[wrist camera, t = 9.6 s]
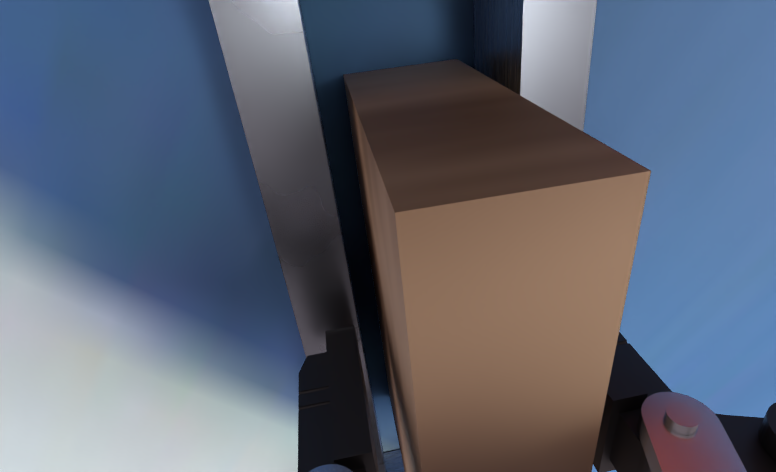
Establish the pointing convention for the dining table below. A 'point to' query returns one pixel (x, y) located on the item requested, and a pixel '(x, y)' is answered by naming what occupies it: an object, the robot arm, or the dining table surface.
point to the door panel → (491, 267)
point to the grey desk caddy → (308, 145)
